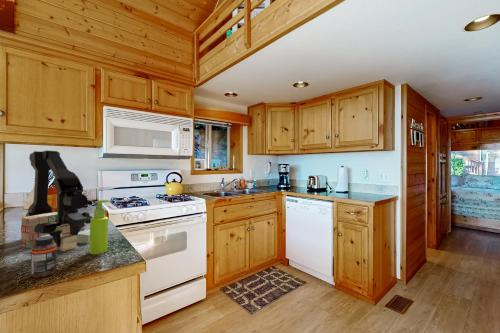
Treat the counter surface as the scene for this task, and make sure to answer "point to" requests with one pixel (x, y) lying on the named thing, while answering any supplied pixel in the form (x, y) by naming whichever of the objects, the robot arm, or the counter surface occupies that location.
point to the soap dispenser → (99, 230)
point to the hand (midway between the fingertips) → (65, 244)
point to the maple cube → (67, 242)
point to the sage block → (84, 236)
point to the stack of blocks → (29, 224)
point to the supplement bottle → (43, 257)
